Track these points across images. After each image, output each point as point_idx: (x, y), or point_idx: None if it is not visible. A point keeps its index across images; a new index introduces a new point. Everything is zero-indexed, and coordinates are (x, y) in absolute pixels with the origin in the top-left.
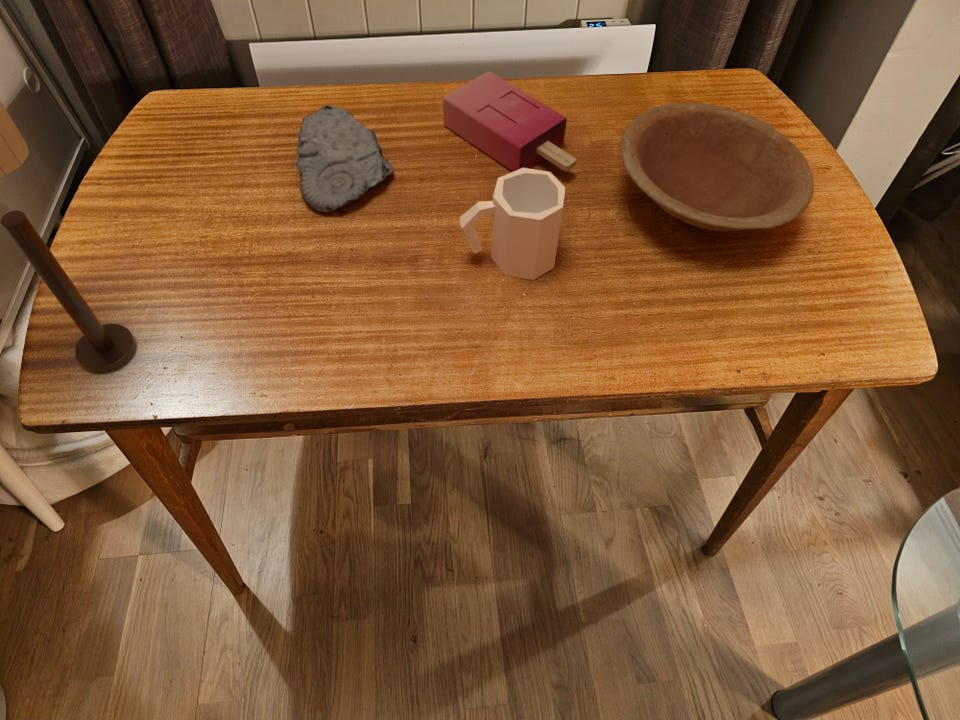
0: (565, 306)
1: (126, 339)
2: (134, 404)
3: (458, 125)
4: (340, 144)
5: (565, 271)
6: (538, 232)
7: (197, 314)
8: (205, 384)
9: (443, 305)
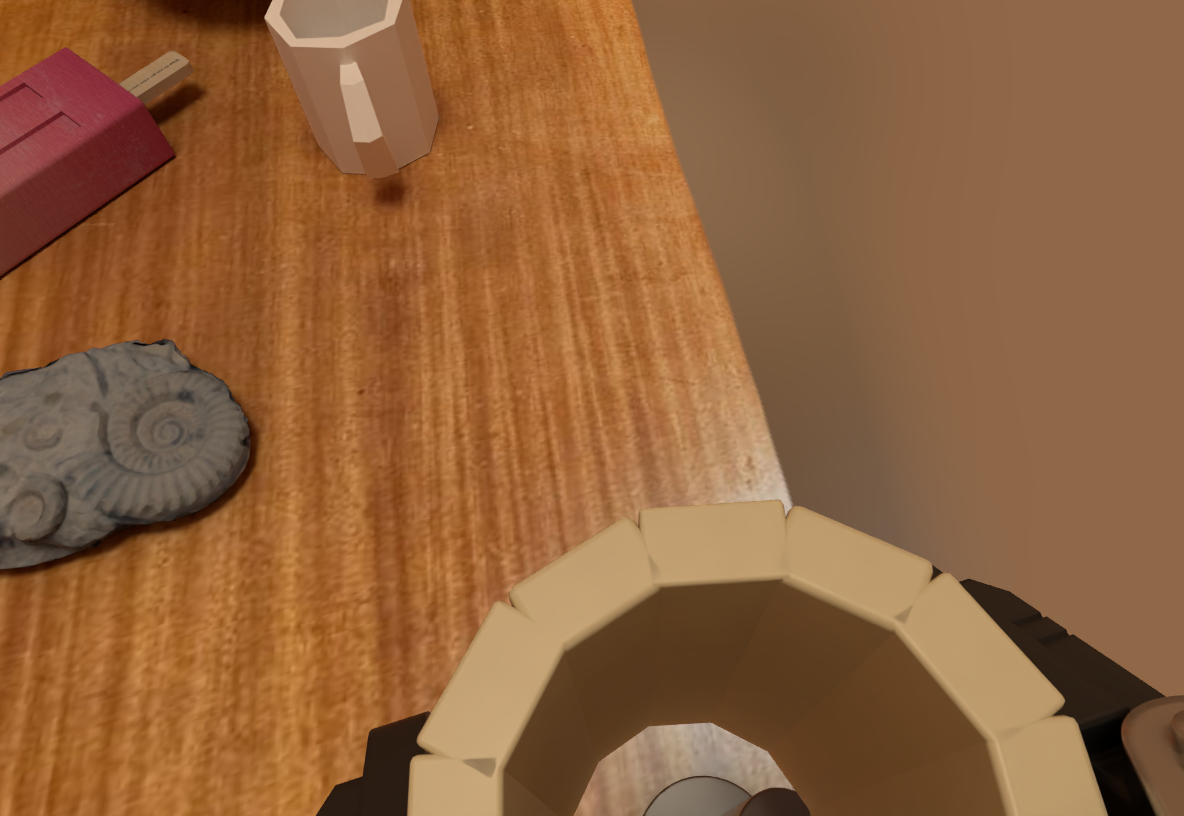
0: (492, 79)
1: (679, 798)
2: None
3: (12, 239)
4: (41, 432)
5: None
6: (413, 16)
7: None
8: None
9: (501, 225)
